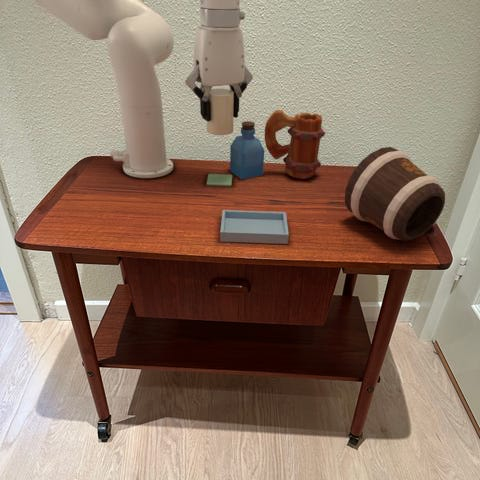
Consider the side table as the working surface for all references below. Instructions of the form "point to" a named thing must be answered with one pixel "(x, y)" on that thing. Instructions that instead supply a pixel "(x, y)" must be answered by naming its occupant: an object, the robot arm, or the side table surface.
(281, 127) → the mug
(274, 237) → the tray
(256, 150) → the perfume bottle
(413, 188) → the brown wooden barrel
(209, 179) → the mat
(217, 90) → the cream upright cylinder
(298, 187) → the side table surface
